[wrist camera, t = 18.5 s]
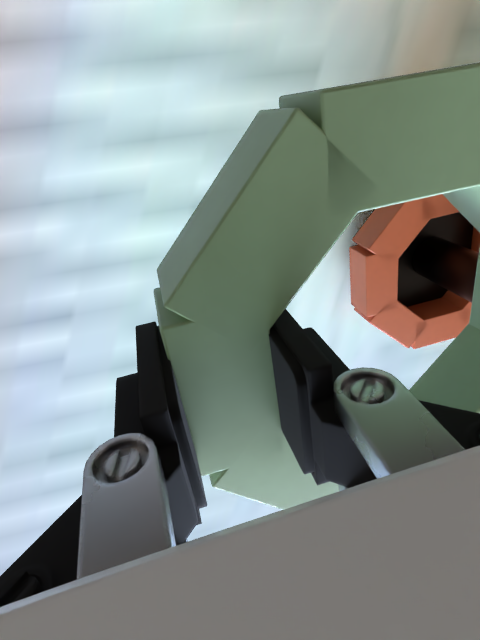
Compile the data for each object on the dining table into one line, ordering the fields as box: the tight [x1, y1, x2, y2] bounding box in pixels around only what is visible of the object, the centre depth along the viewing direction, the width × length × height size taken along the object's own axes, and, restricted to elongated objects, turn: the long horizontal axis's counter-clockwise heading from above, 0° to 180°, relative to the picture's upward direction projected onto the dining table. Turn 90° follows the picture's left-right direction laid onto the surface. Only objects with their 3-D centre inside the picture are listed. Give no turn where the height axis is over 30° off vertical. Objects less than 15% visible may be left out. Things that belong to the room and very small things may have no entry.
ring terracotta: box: [349, 194, 480, 349], centre depth 29 cm, size 12×12×2 cm
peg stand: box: [397, 212, 479, 307], centre depth 27 cm, size 8×8×11 cm
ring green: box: [154, 62, 480, 510], centre depth 12 cm, size 12×12×2 cm
